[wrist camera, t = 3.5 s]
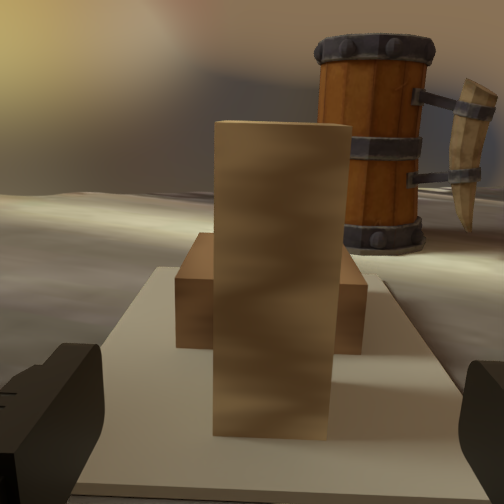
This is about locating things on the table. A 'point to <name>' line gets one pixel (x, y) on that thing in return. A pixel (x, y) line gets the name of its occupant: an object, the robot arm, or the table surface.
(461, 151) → the mug
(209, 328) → the walnut base
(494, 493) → the robot arm
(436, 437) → the build mat
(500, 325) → the table surface
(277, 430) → the maple pillar
